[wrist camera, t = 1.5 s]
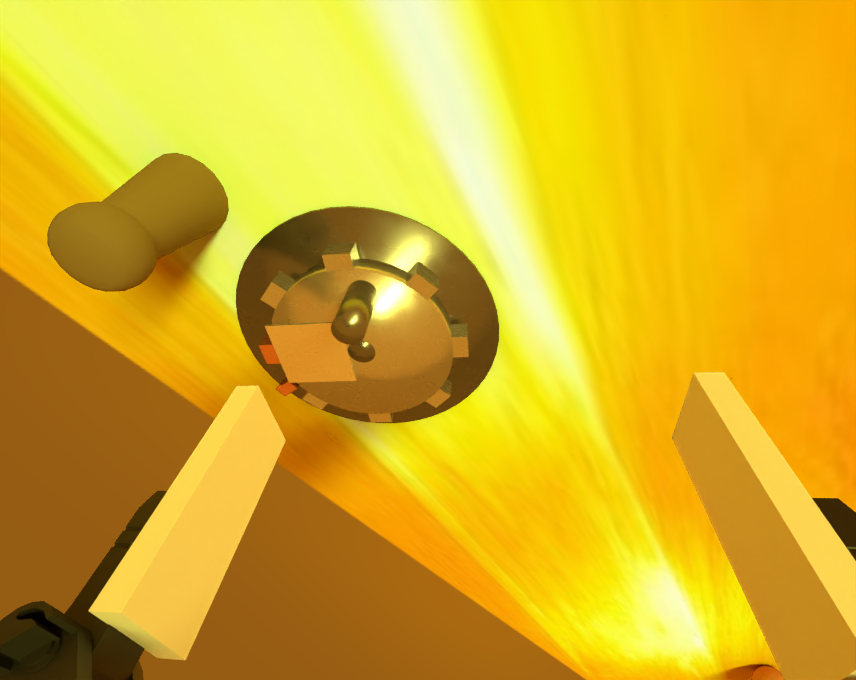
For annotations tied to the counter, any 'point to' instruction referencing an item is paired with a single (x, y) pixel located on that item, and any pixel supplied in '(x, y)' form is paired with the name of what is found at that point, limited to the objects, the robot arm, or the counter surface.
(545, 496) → the counter surface
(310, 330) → the sprocket
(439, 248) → the plate
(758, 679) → the egg
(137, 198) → the pepper mill
